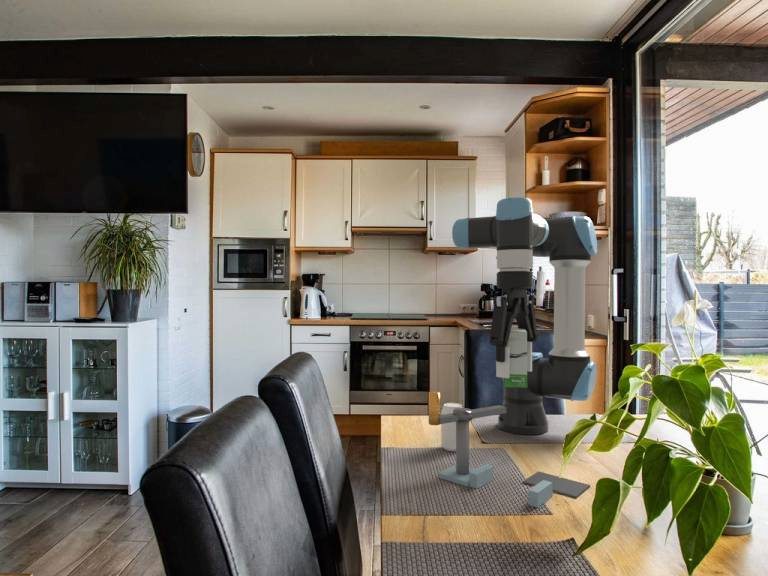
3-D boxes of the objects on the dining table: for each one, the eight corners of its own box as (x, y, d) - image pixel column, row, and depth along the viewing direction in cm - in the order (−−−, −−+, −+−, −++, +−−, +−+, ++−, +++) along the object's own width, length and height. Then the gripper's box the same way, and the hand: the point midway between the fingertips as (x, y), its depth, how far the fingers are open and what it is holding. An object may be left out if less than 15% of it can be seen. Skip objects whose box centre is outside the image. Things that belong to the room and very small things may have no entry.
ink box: (528, 388, 103) (527, 331, 102) (503, 387, 104) (503, 330, 104) (525, 380, 111) (524, 327, 111) (502, 379, 112) (502, 327, 112)
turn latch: (424, 422, 112) (424, 391, 112) (496, 409, 123) (496, 381, 123) (435, 427, 108) (435, 395, 108) (509, 413, 119) (509, 384, 119)
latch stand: (457, 467, 121) (457, 413, 121) (553, 495, 105) (553, 433, 105) (438, 477, 115) (438, 420, 115) (536, 508, 99) (536, 442, 99)
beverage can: (462, 453, 131) (462, 408, 131) (439, 451, 133) (439, 406, 133) (465, 446, 137) (465, 402, 137) (443, 444, 139) (443, 401, 139)
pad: (538, 473, 117) (538, 471, 117) (590, 486, 109) (590, 484, 109) (522, 483, 111) (522, 481, 111) (576, 498, 103) (576, 496, 103)
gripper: (522, 271, 118) (522, 365, 118) (471, 270, 102) (471, 379, 102) (553, 270, 113) (553, 369, 113) (504, 269, 96) (504, 384, 97)
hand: (514, 373), depth 107 cm, fingers closed on ink box, 9 cm apart
